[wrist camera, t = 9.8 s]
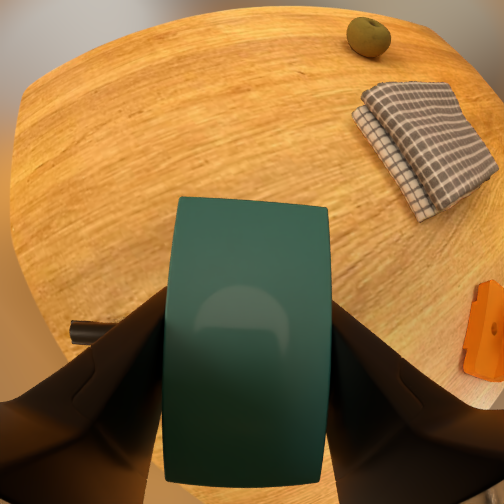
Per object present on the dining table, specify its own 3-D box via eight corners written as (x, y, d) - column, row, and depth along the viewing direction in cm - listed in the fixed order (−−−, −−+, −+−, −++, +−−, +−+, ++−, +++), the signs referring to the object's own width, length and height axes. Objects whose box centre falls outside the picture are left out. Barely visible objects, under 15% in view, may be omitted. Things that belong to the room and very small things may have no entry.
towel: (340, 122, 28) (365, 74, 21) (421, 107, 32) (445, 75, 24) (416, 233, 25) (464, 201, 17) (479, 187, 29) (511, 162, 21)
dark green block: (271, 408, 13) (320, 482, 5) (197, 405, 13) (164, 482, 5) (276, 274, 15) (328, 206, 7) (204, 269, 15) (178, 195, 7)
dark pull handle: (267, 338, 21) (281, 341, 15) (103, 343, 19) (66, 343, 14) (265, 319, 21) (279, 313, 15) (103, 324, 20) (65, 319, 14)
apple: (335, 48, 34) (347, 16, 27) (349, 37, 36) (359, 10, 30) (376, 69, 33) (391, 39, 27) (384, 56, 36) (398, 29, 29)
